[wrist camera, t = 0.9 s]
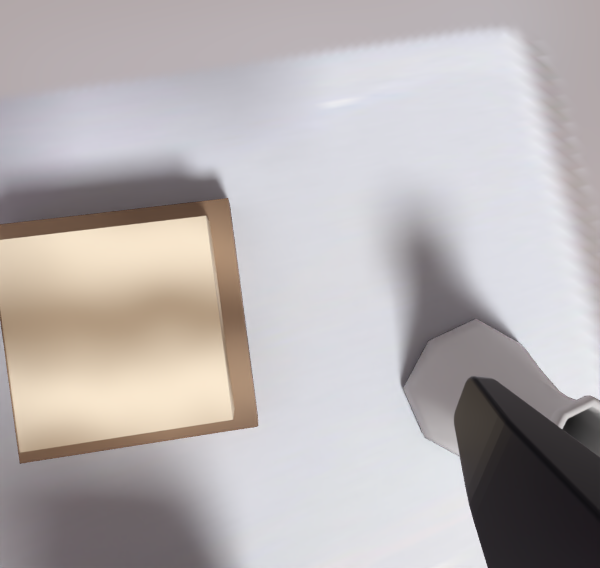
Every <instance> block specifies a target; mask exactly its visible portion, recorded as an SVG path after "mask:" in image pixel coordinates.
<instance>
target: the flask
mask: <svg viewBox="0 0 600 568" xmlns="http://www.w3.org/2000/svg"><path fill="white" fill-rule="evenodd" d="M471 376H479V377H489V378H493V379H495V380H497V381H498V382H499V383H501V384H502V385H503V386H505V387H506V388H507V389H509V390H510V391H511V392H513V393H514V394H515V395H517V396H518V397H520V398H521V399H522V400H524V401H525V402H526V403H528V404H529V405H530V406H532V407H533V408H534V409H536V410H537V411H538V412H540V413H541V414H542V415H544V416H545V417H547V418H548V419H549V420H551V421H552V422H553V423H555V424H556V425H557V426H559V427H560V428H561V429H563V430H564V431H565V432H567V433H568V434H569V435H571V436H572V437H574V438H575V439H576V440H578V441H579V442H580V443H582V444H583V445H584V446H586V447H587V448H588V449H590V450H591V451H592V452H594V453H595V454H596V455H598V456H599V457H600V400H598V399H596V398H595V397H592V396H584V397H582V398H580V399H578V400H575V399H572V398H570V397H567V396H566V395H564V394H563V393H561V392H560V391H559V390H558V389H557V388H556V386H555V385H554V384H553V383H552V382H551V381H550V380H549V378H548V377H547V376H546V375H545V374H544V373H543V371H542V370H541V369H540V368H539V367H538V365H537V364H536V363H535V361H534V360H533V358H532V357H531V356H530V354H529V353H528V352H527V350H526V349H525V348H524V347H523V346H522V344H520V343H518V342H517V341H515V340H513V339H511V338H510V337H508V336H506V335H504V334H503V333H501V332H499V331H497V330H496V329H494V328H492V327H490V326H489V325H487V324H485V323H483V322H482V321H480V320H478V319H474V320H472V321H470V322H468V323H465V324H463V325H461V326H459V327H457V328H455V329H453V330H450V331H448V332H446V333H444V334H442V335H440V336H438V337H436V338H433V339H431V340H429V341H428V343H427V345H426V347H425V349H424V350H423V352H422V354H421V356H420V358H419V360H418V362H417V363H416V365H415V367H414V369H413V371H412V373H411V375H410V376H409V378H408V380H407V382H406V384H405V386H404V388H403V389H404V392H405V394H406V396H407V398H408V401H409V403H410V405H411V408H412V410H413V412H414V414H415V417H416V419H417V421H418V423H419V426H420V428H421V430H422V433H423V435H424V437H425V438H427V439H428V440H430V441H432V442H434V443H436V444H438V445H439V446H441V447H443V448H445V449H447V450H449V451H450V452H452V453H454V454H456V455H458V456H460V455H459V449H458V444H457V438H456V433H455V428H454V413H455V409H456V407H457V404H458V401H459V398H460V396H461V393H462V390H463V388H464V385H465V382H466V381H467V379H468V378H469V377H471Z"/></svg>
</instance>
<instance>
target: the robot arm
mask: <svg viewBox="0 0 600 568" xmlns="http://www.w3.org/2000/svg"><path fill="white" fill-rule="evenodd" d="M454 428H455V433H456V438H457V444H458V449H459V455H460V460H461V465H462V471H463V476H464V482H465V487H466V492H467V497H468V501H469V506H470V509H471V513H472V517H473V520H474V524H475V527H476V530H477V533H478V537H479V540H480V543H481V547H482V550H483V553H484V557H485V560H486V563H487V566H488V568H600V457H599V456H598V455H596V454H595V453H594V452H592V451H591V450H590V449H588V448H587V447H586V446H584V445H583V444H582V443H580V442H579V441H578V440H576V439H575V438H574V437H572V436H571V435H569V434H568V433H567V432H565V431H564V430H563V429H561V428H560V427H559V426H557V425H556V424H555V423H553V422H552V421H551V420H549V419H548V418H547V417H545V416H544V415H542V414H541V413H540V412H538V411H537V410H536V409H534V408H533V407H532V406H530V405H529V404H528V403H526V402H525V401H524V400H522V399H521V398H520V397H518V396H517V395H515V394H514V393H513V392H511V391H510V390H509V389H507V388H506V387H505V386H503V385H502V384H501V383H499V382H498V381H497V380H495V379H493V378H489V377H479V376H471V377H469V378H468V379H467V381H466V382H465V385H464V388H463V390H462V393H461V396H460V398H459V401H458V404H457V407H456V409H455V413H454Z"/></svg>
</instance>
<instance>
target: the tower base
mask: <svg viewBox="0 0 600 568" xmlns="http://www.w3.org/2000/svg"><path fill="white" fill-rule="evenodd" d="M0 321H1V329H2V336H3V343H4V351H5V358H6V365H7V373H8V380H9V387H10V395H11V402H12V410H13V417H14V424H15V432H16V439H17V446H18V454H19V461H20V464H21V463H27V462H33V461H40V460H46V459H53V458H59V457H65V456H72V455H78V454H85V453H91V452H97V451H104V450H110V449H116V448H123V447H129V446H136V445H142V444H148V443H155V442H161V441H168V440H174V439H180V438H187V437H193V436H200V435H206V434H212V433H219V432H225V431H232V430H238V429H244V428H251V427H257V426H258V414H257V406H256V399H255V391H254V383H253V376H252V368H251V361H250V353H249V346H248V338H247V330H246V323H245V315H244V308H243V300H242V293H241V285H240V278H239V270H238V262H237V255H236V247H235V240H234V232H233V225H232V217H231V209H230V203H229V200H228V198H225V199H217V200H208V201H199V202H191V203H182V204H173V205H164V206H156V207H147V208H138V209H130V210H121V211H112V212H104V213H95V214H86V215H78V216H69V217H60V218H51V219H43V220H34V221H25V222H17V223H8V224H0Z"/></svg>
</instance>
